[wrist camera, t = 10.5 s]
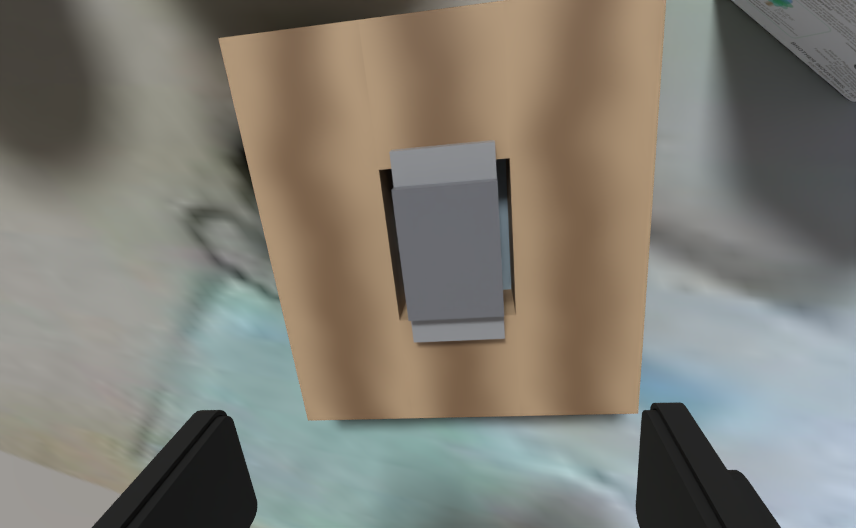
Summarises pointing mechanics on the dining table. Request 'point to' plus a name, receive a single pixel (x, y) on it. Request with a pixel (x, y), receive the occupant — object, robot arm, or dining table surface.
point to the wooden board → (517, 194)
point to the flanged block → (449, 240)
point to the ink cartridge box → (814, 35)
